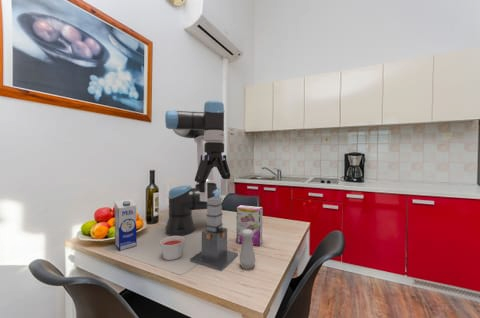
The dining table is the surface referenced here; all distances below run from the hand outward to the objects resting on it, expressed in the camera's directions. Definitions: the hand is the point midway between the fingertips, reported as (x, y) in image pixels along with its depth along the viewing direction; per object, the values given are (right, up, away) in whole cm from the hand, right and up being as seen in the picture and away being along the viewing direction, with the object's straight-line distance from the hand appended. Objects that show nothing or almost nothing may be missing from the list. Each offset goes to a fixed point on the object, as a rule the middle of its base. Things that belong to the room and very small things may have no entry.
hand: (214, 197), depth 78 cm
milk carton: (-41, -24, +12) cm, 48 cm away
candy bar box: (+14, -24, +15) cm, 31 cm away
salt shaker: (+12, -24, -5) cm, 27 cm away
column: (0, -22, +1) cm, 22 cm away
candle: (-17, -24, +3) cm, 29 cm away
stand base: (0, -24, +1) cm, 24 cm away
